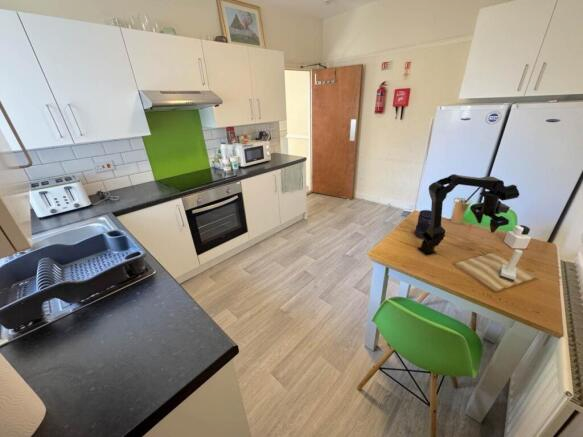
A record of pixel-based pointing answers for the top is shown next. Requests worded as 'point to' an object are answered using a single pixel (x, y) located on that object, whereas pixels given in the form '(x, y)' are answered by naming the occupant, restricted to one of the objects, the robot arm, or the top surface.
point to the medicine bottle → (518, 237)
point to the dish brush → (510, 267)
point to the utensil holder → (460, 208)
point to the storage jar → (423, 222)
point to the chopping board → (492, 271)
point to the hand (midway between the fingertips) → (485, 227)
